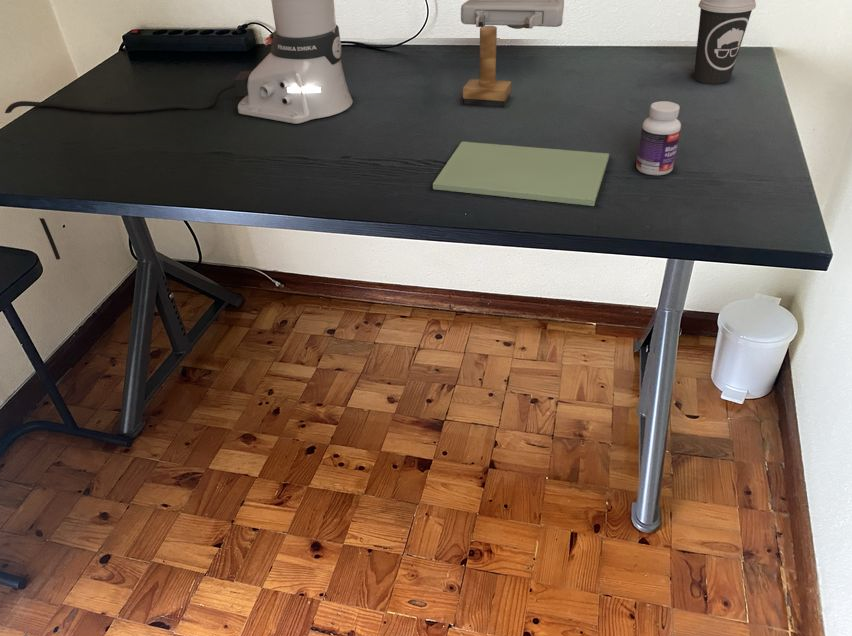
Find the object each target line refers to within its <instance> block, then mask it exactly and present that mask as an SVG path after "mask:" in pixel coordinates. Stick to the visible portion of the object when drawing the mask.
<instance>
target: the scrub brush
mask: <svg viewBox="0 0 852 636" xmlns="http://www.w3.org/2000/svg"><path fill="white" fill-rule="evenodd" d="M497 30H498V27H497V26H496V25H485V26H483V27H479V71H478V73H479V75H478V78H469V79H468V81H467V82H466V83H465V85H464V86H463V87H462V99H463V103H464V105H465V106H481V107H497V108H505V106H506V105H507V103H508V102H509V100H510V97H511V93H512V81H511V80H499V79H497V40H498V37H497V36H498V31H497Z"/></svg>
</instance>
